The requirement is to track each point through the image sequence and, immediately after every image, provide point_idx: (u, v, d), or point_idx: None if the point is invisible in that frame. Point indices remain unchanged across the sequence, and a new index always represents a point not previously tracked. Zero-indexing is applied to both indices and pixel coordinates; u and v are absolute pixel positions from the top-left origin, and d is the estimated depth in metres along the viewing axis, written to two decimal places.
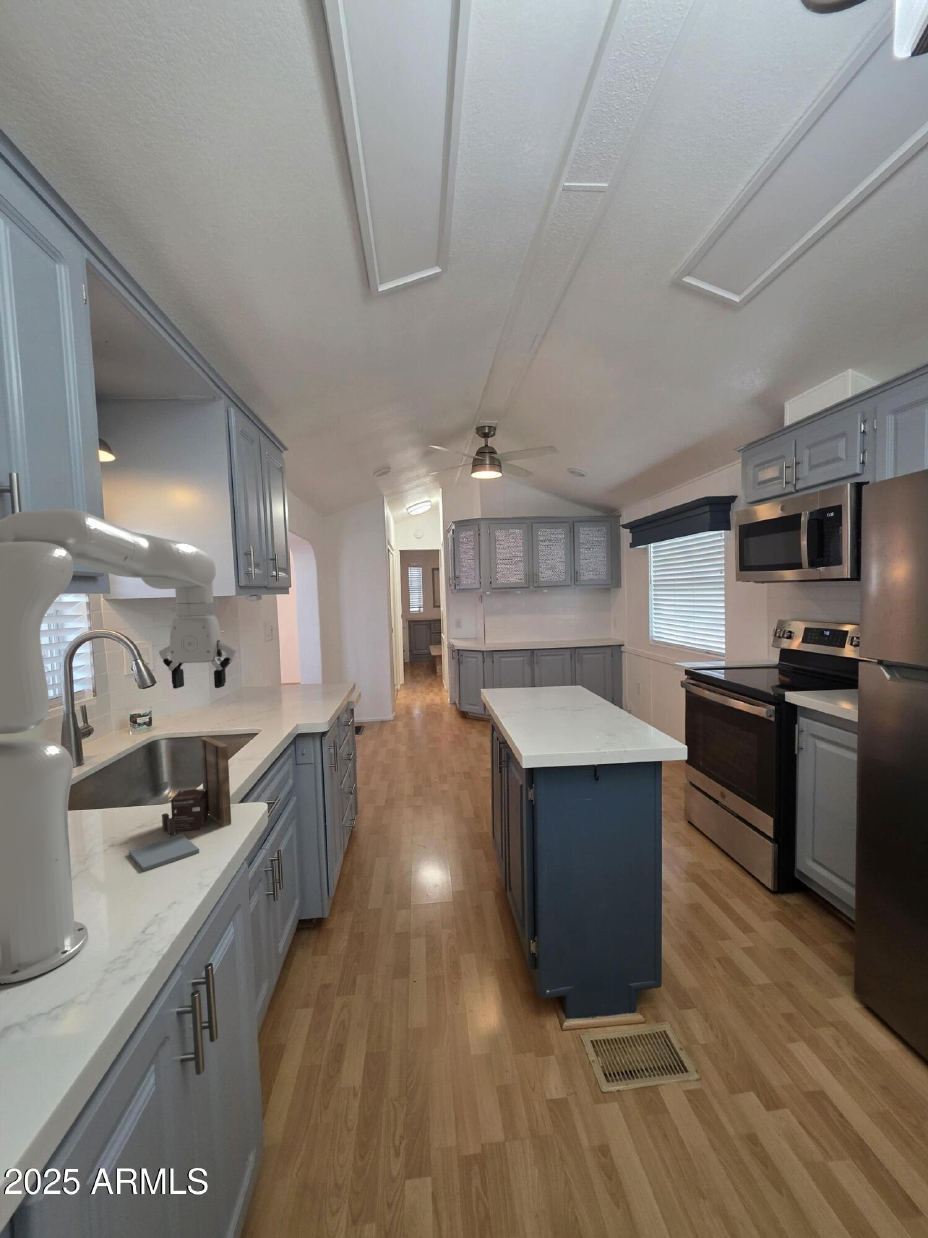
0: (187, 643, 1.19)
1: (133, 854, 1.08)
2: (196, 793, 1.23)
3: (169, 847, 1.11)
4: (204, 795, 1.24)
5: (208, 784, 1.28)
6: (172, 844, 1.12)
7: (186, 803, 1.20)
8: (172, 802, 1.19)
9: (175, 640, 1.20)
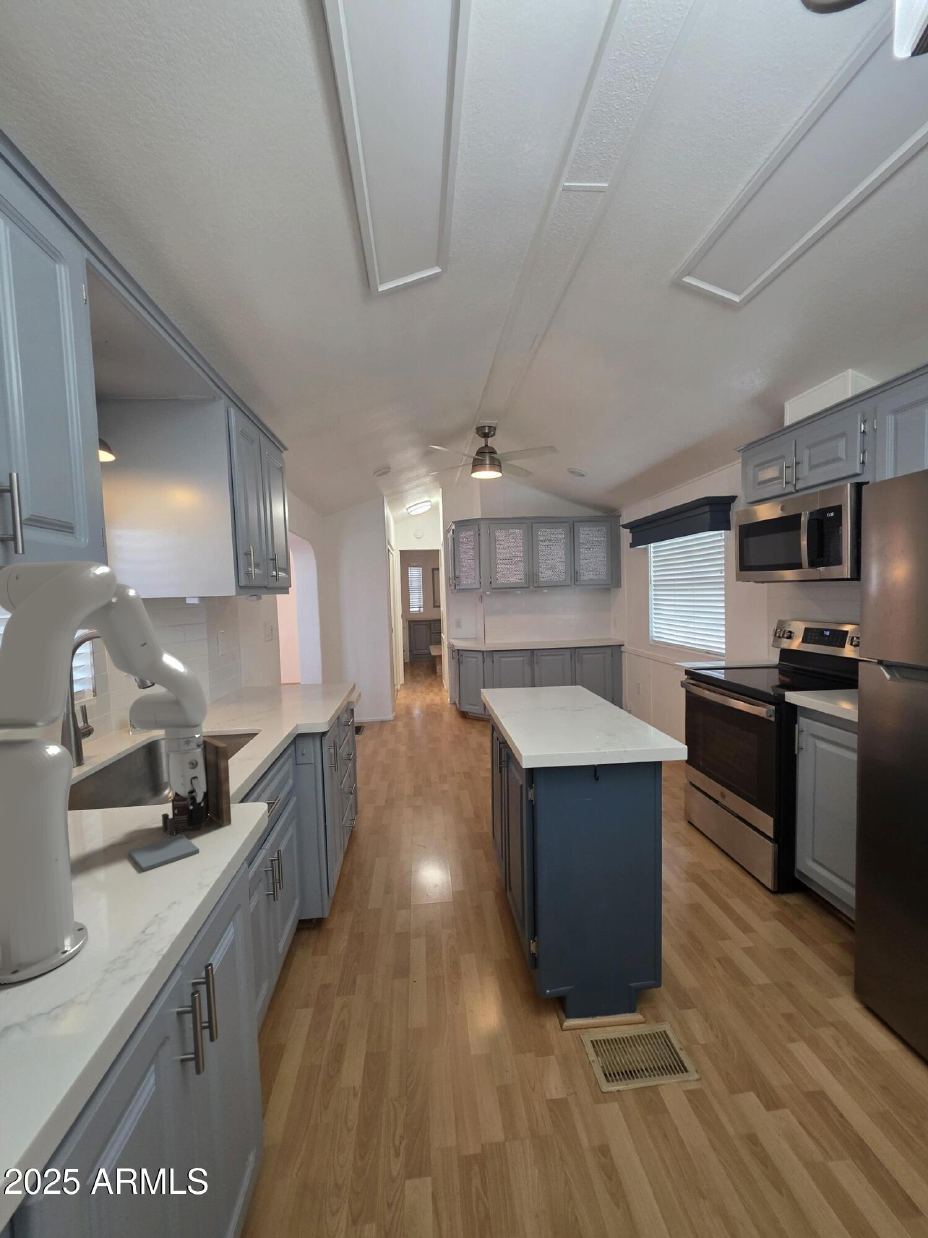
0: None
1: (133, 854, 1.08)
2: None
3: (169, 847, 1.11)
4: (205, 795, 1.24)
5: (208, 784, 1.28)
6: (172, 844, 1.12)
7: None
8: (173, 802, 1.19)
9: None
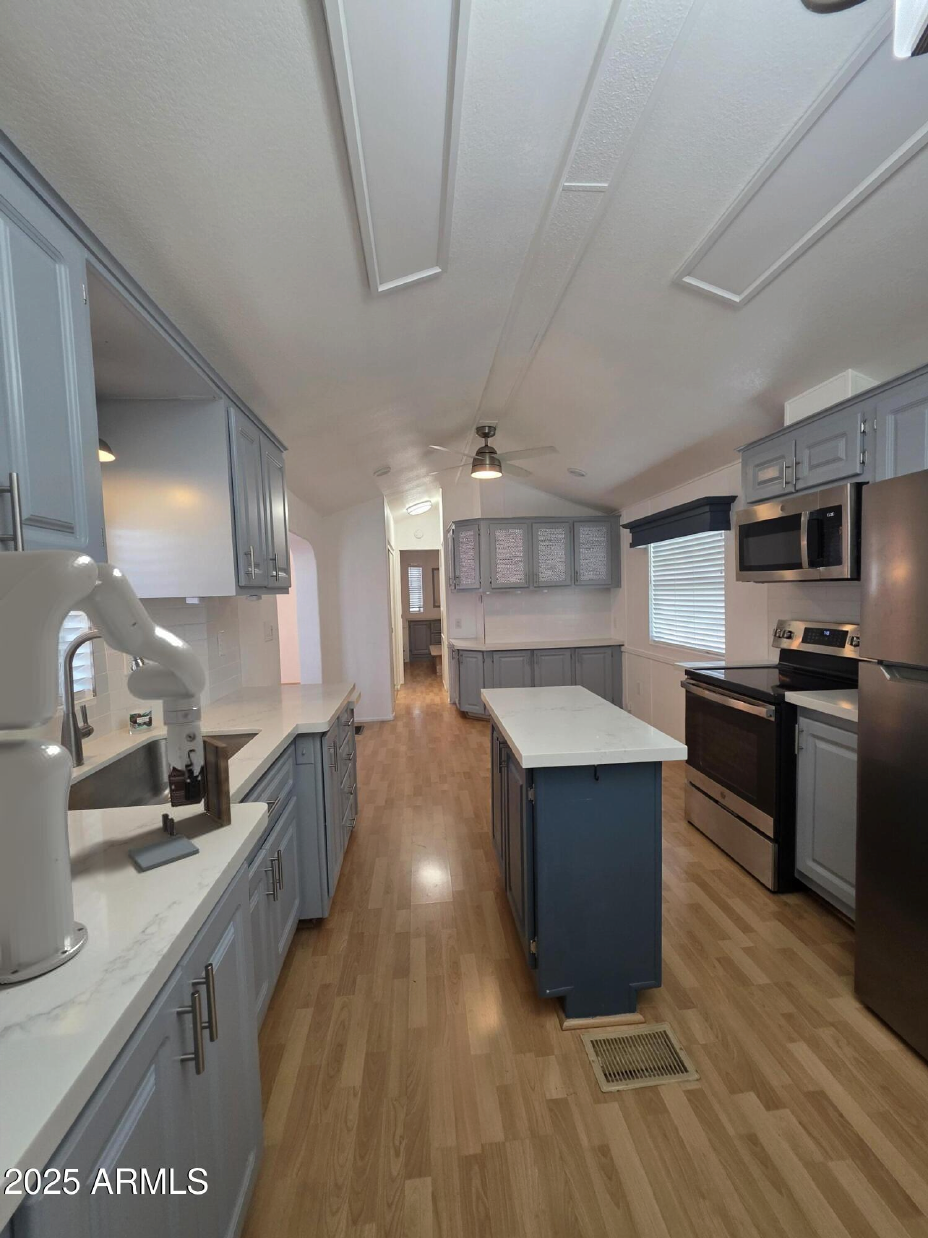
0: None
1: (133, 854, 1.08)
2: None
3: (169, 847, 1.11)
4: (201, 770, 1.23)
5: (208, 784, 1.28)
6: (172, 844, 1.12)
7: (183, 778, 1.19)
8: (169, 778, 1.18)
9: None
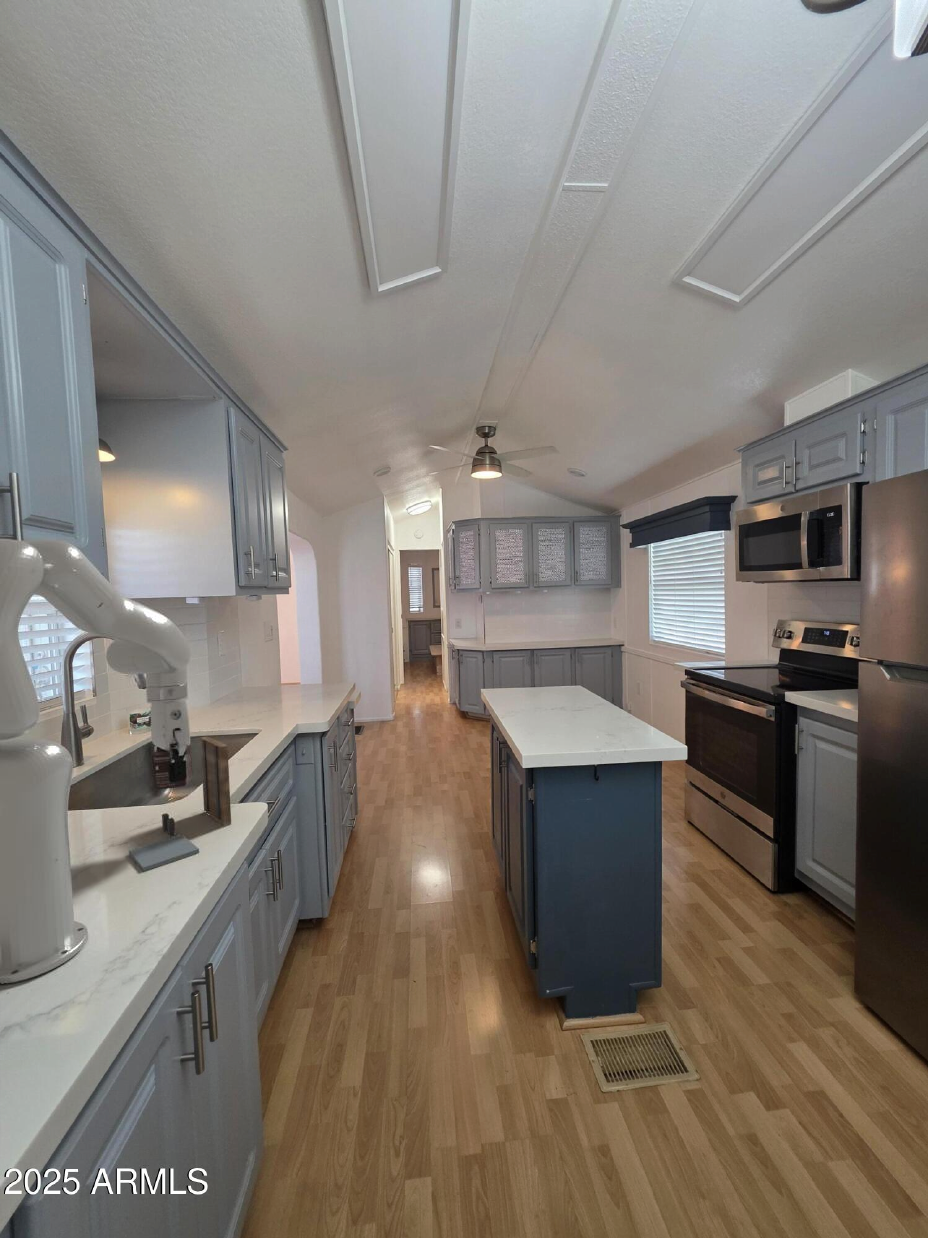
0: None
1: (133, 854, 1.08)
2: None
3: (169, 847, 1.11)
4: (188, 750, 1.15)
5: (208, 784, 1.28)
6: (172, 844, 1.12)
7: (168, 759, 1.11)
8: (153, 758, 1.11)
9: None
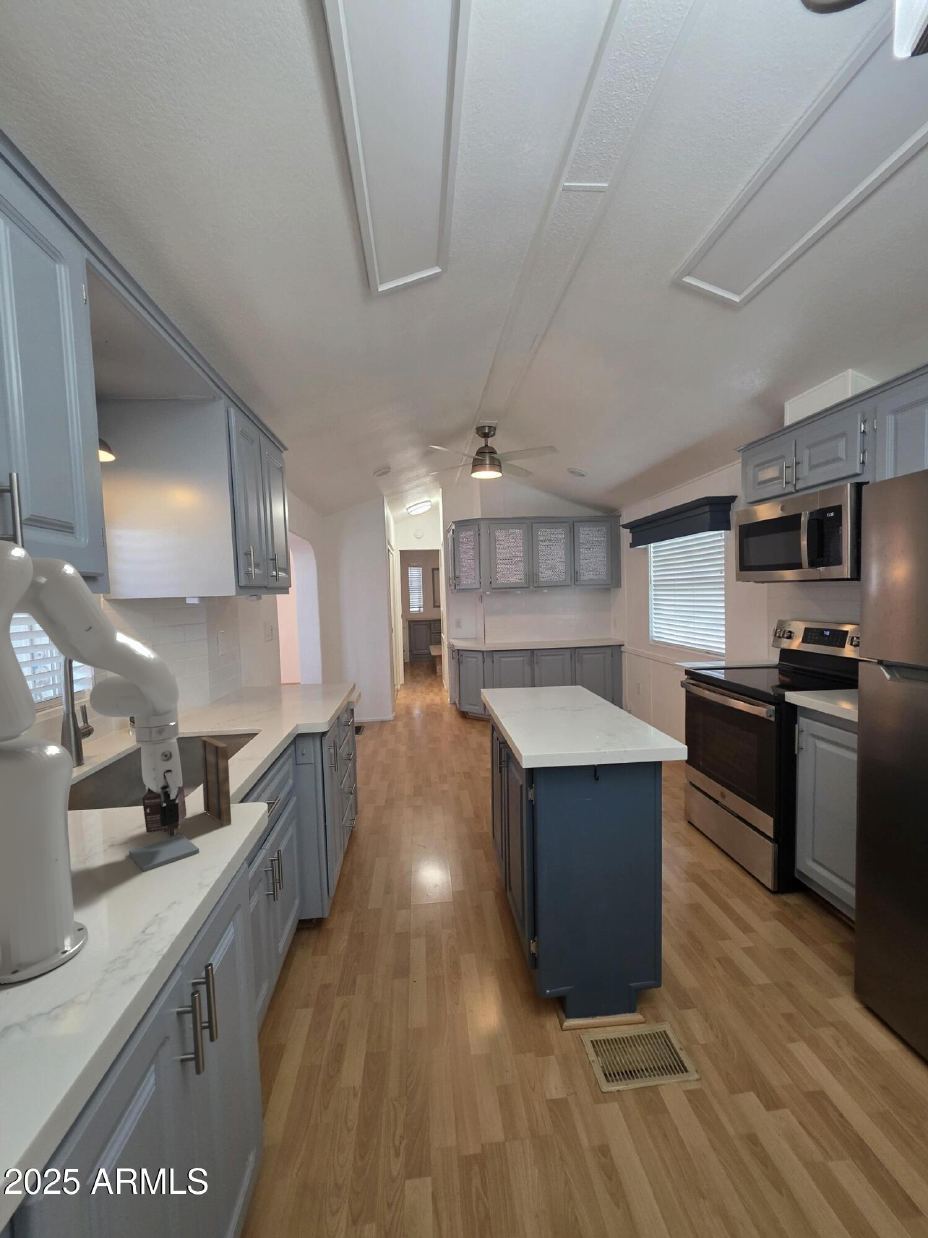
0: None
1: (133, 854, 1.08)
2: None
3: (169, 847, 1.11)
4: (180, 790, 1.11)
5: (208, 784, 1.28)
6: (172, 844, 1.12)
7: (159, 801, 1.07)
8: (143, 800, 1.06)
9: None
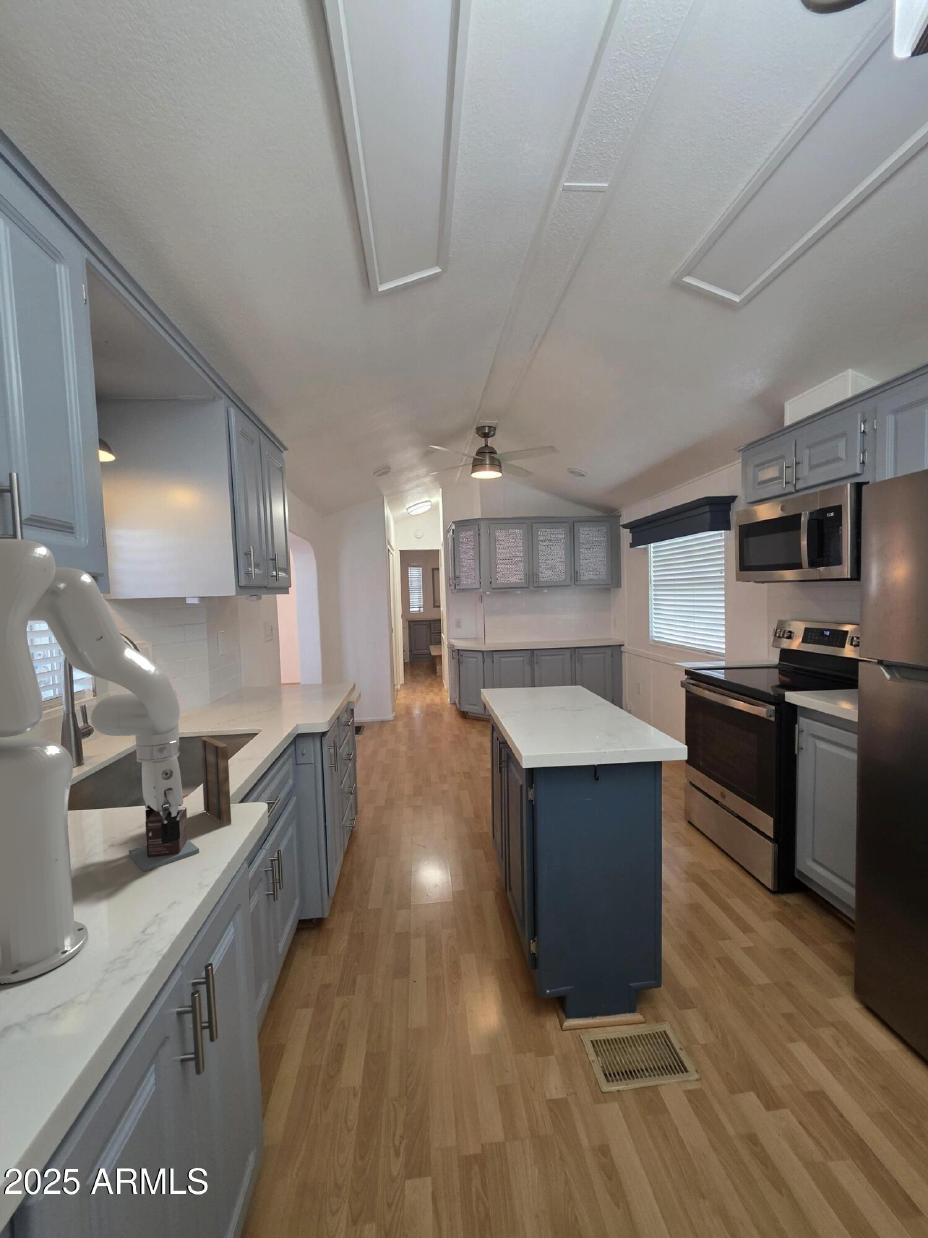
0: None
1: (133, 854, 1.08)
2: None
3: None
4: (183, 815, 1.11)
5: (208, 784, 1.28)
6: None
7: None
8: (147, 823, 1.06)
9: None
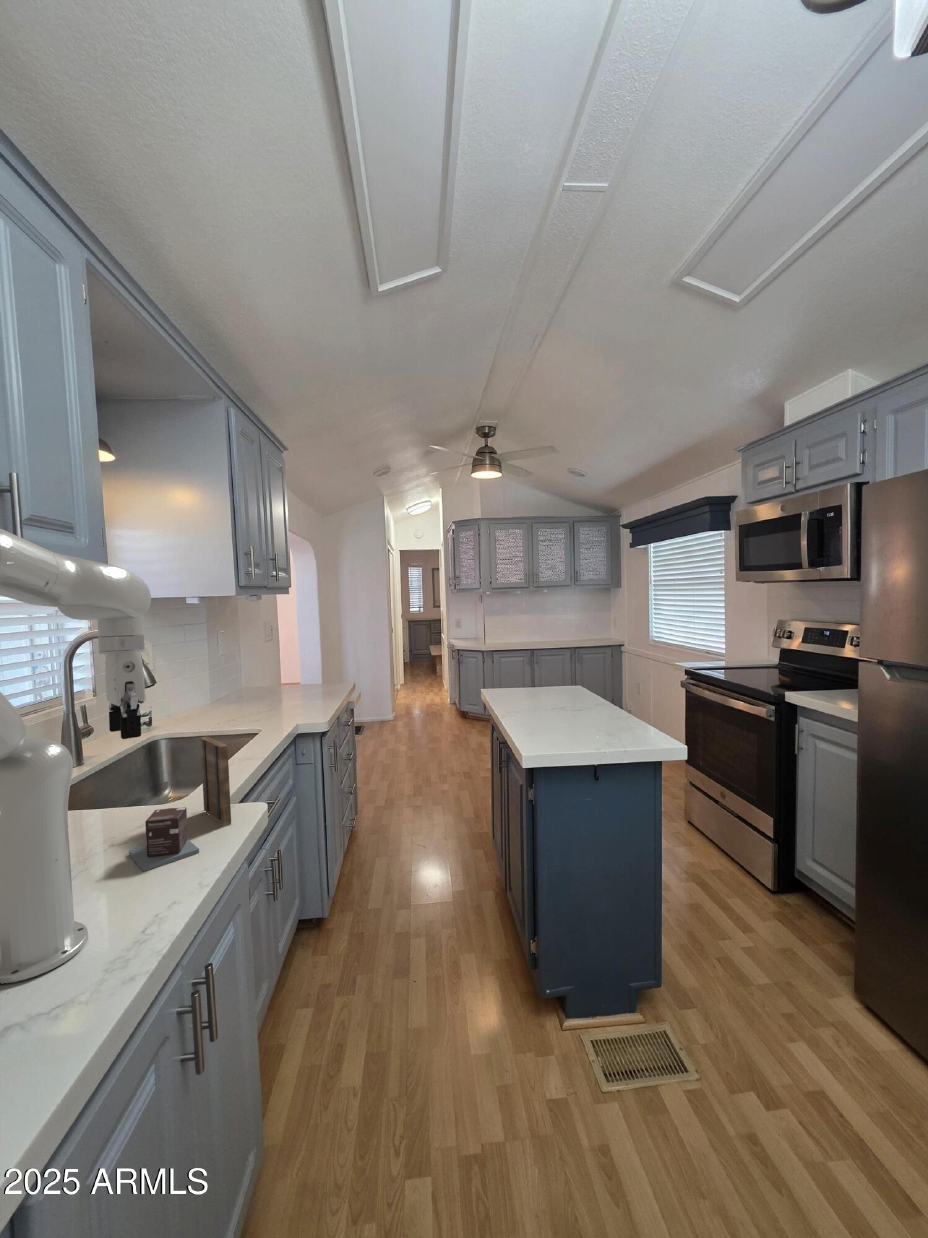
0: None
1: (133, 854, 1.08)
2: (174, 812, 1.10)
3: None
4: (183, 815, 1.11)
5: (208, 784, 1.28)
6: None
7: (162, 825, 1.07)
8: (147, 824, 1.06)
9: None
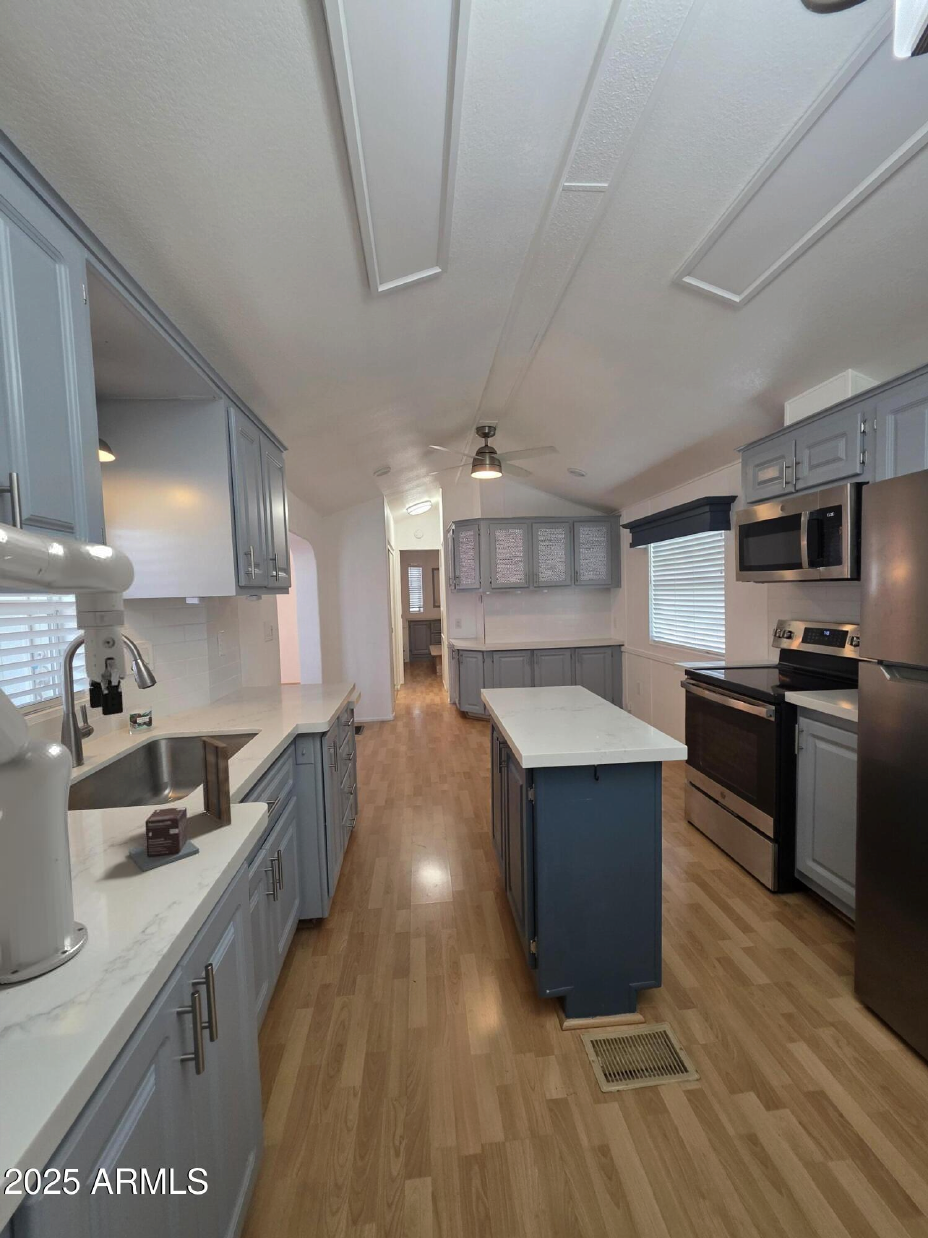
0: None
1: (133, 854, 1.08)
2: (175, 812, 1.10)
3: None
4: (183, 815, 1.11)
5: (208, 784, 1.28)
6: None
7: (162, 825, 1.07)
8: (147, 823, 1.06)
9: None
